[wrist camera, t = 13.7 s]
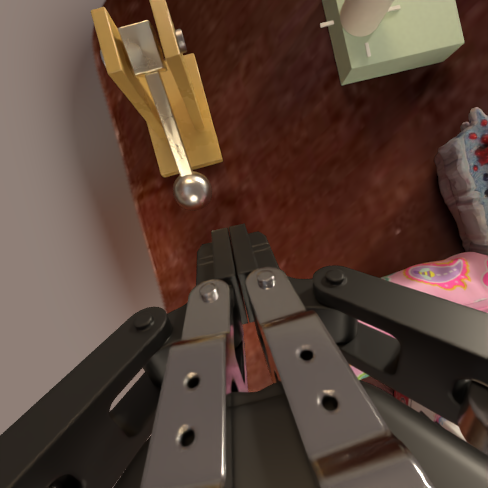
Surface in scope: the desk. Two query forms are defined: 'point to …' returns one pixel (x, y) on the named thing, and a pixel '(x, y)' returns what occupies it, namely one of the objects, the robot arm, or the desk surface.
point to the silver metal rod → (164, 111)
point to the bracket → (177, 87)
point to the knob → (363, 15)
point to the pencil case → (446, 283)
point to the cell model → (467, 180)
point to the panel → (395, 39)
